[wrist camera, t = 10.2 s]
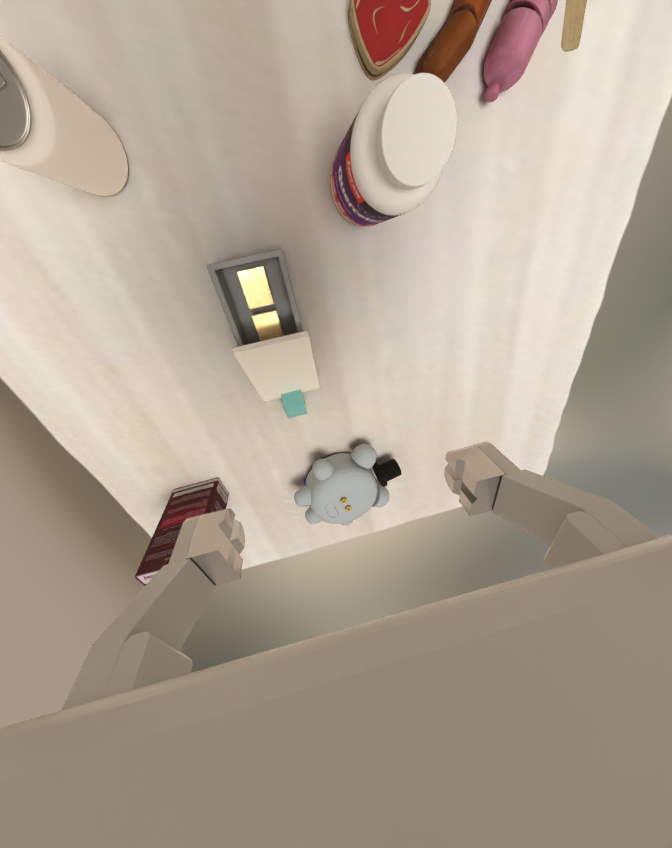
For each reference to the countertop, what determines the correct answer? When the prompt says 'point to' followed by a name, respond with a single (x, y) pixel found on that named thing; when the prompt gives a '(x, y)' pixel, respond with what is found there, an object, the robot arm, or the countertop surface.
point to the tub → (236, 301)
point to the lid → (281, 369)
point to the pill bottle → (394, 149)
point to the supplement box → (179, 522)
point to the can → (55, 129)
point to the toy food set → (457, 36)
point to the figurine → (346, 486)
